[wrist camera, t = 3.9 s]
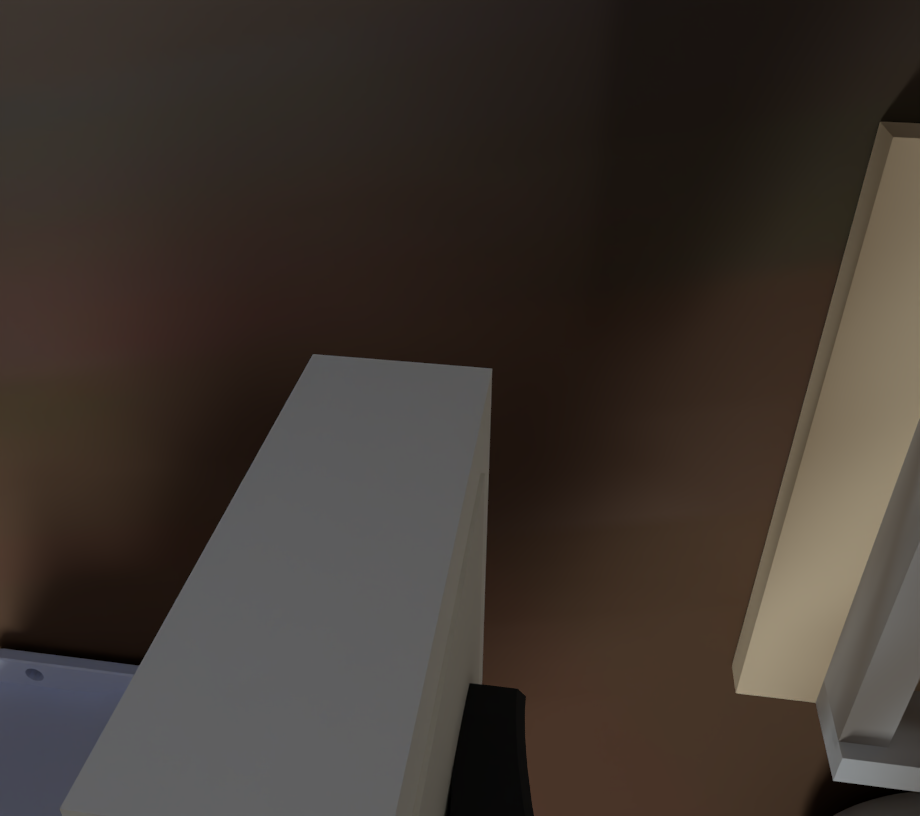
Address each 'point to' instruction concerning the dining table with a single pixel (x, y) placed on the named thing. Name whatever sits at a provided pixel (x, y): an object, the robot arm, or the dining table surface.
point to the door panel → (321, 615)
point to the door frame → (854, 502)
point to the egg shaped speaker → (887, 806)
